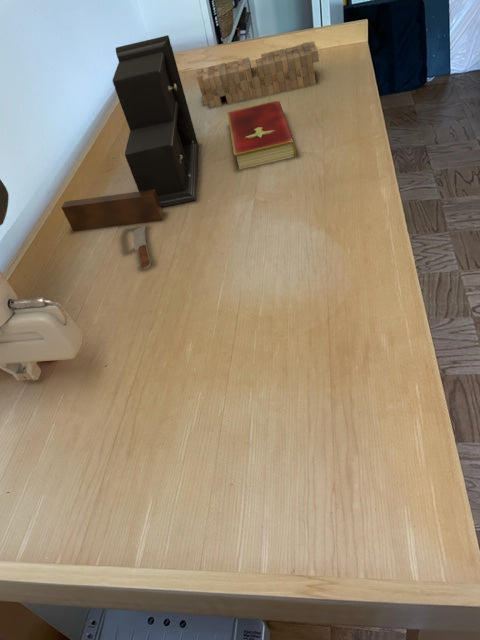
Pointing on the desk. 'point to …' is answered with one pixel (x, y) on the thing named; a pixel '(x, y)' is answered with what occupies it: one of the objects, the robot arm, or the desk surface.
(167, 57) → the dark wooden cabinet
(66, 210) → the wall board
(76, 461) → the desk surface
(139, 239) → the cleaver
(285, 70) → the block tower
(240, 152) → the hardcover book
